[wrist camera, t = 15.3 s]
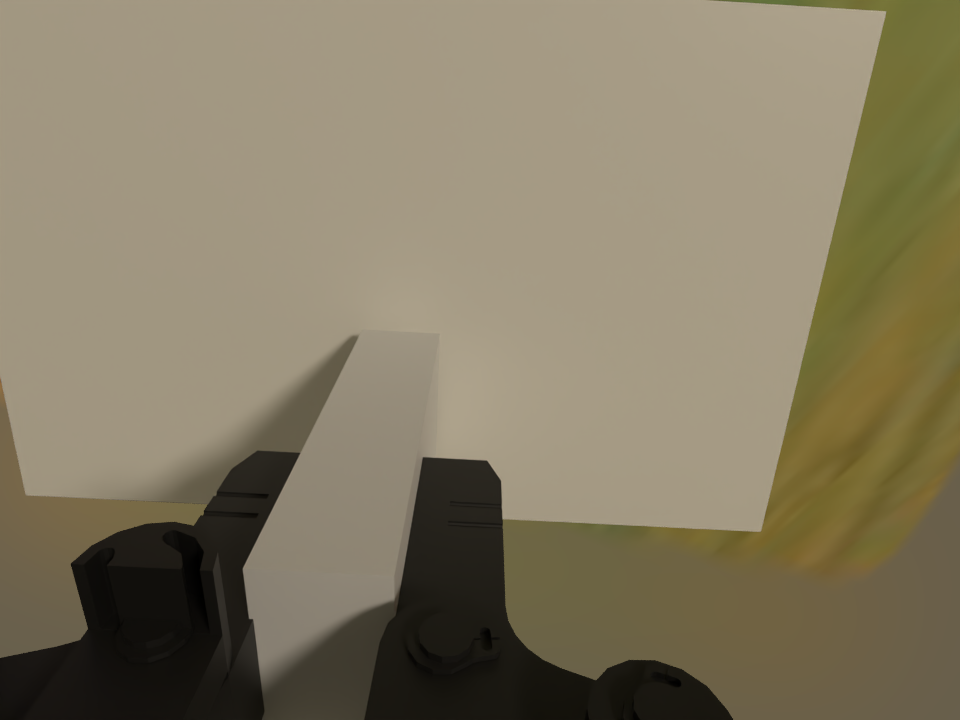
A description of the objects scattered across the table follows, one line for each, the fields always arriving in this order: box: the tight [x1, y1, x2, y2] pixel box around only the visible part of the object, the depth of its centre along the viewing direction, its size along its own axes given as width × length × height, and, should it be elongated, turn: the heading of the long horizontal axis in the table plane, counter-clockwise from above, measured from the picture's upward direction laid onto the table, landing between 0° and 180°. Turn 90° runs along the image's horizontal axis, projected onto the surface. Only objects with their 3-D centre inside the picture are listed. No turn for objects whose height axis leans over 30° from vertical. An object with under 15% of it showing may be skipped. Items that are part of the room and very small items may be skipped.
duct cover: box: [0, 0, 886, 532], centre depth 13 cm, size 16×10×1 cm, turn 87°
